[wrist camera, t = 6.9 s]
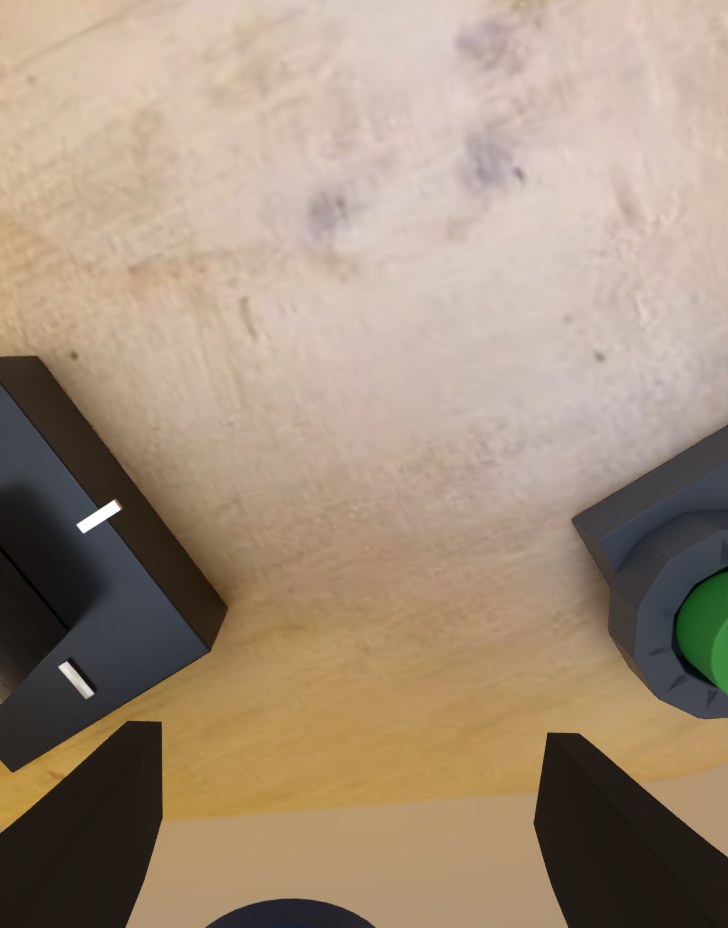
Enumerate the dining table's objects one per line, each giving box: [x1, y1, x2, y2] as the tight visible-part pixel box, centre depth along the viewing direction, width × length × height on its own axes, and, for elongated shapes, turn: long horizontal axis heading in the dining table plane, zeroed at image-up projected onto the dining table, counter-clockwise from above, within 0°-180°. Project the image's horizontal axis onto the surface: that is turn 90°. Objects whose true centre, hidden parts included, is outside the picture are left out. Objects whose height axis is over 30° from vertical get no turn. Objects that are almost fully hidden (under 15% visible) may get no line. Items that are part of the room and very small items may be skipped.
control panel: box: [0, 356, 228, 773], centre depth 18 cm, size 9×11×3 cm
